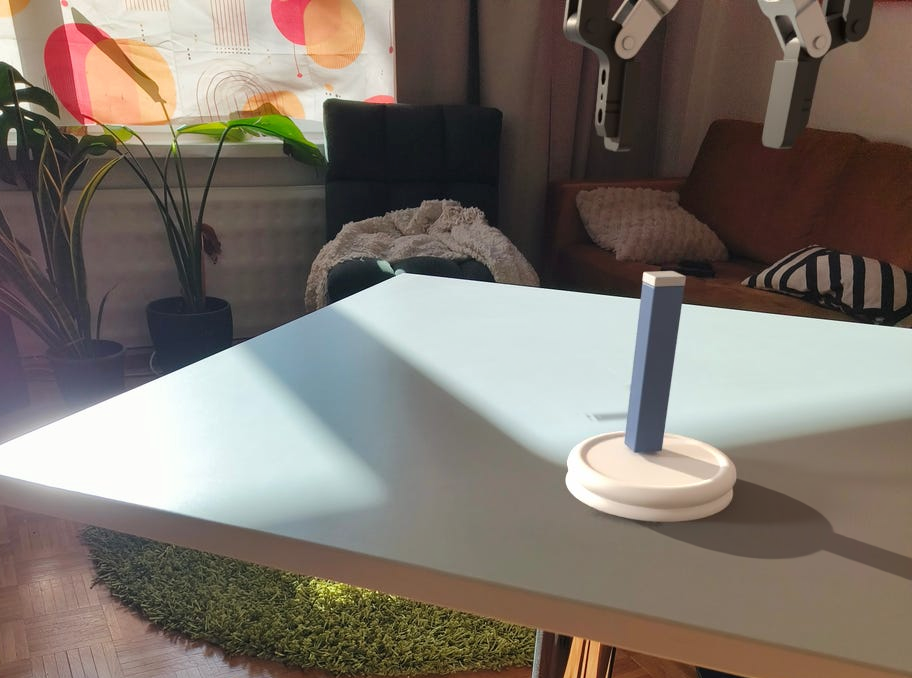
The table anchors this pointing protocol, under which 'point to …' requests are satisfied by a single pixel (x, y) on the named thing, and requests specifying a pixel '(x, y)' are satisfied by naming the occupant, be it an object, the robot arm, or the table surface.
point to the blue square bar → (654, 359)
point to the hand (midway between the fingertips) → (698, 148)
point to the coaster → (651, 478)
